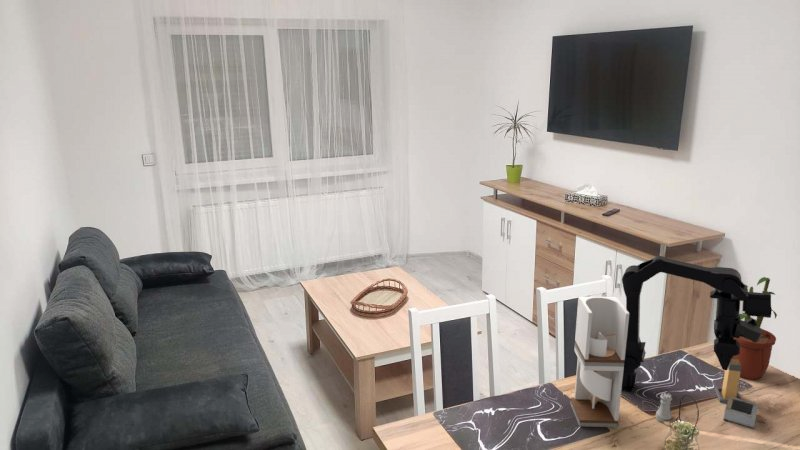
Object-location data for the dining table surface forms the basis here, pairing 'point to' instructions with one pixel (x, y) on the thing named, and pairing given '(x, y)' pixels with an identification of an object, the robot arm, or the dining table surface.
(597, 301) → the curved tiered shelf
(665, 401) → the rook chess piece
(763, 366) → the potted plant
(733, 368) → the amber plug
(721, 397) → the charcoal tray
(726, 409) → the steel socket block
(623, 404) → the dining table surface
